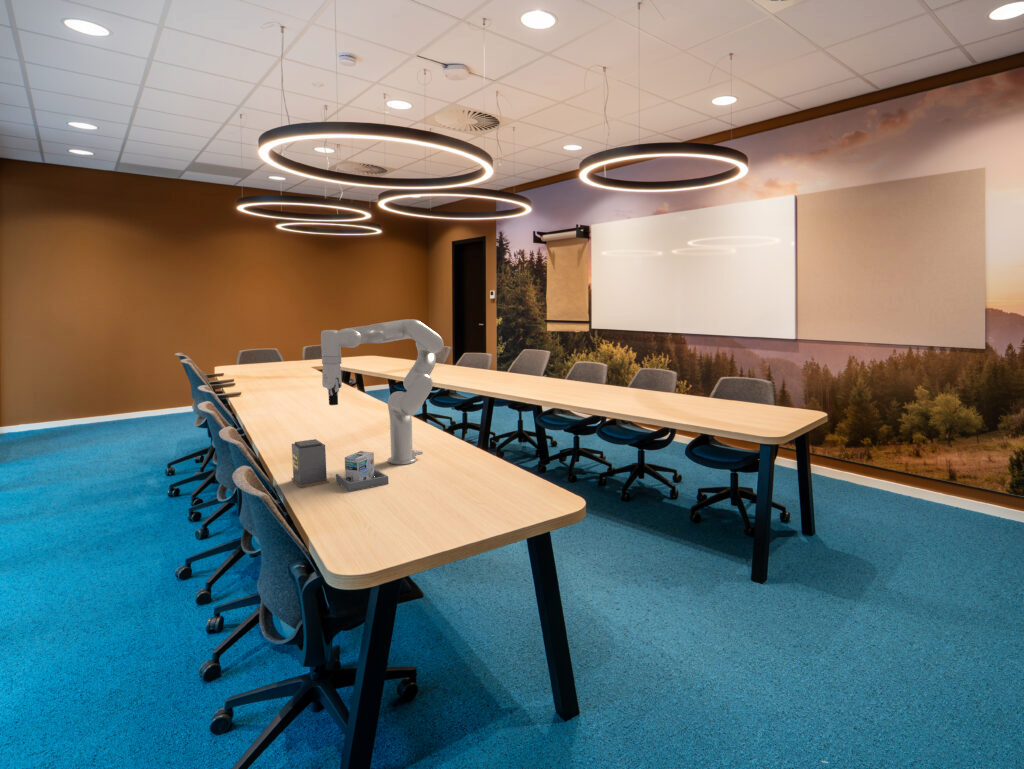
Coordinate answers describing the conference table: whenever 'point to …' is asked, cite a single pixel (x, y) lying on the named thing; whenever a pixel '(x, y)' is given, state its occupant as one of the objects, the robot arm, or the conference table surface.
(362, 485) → the bay
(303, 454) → the block
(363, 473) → the light bulb box
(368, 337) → the robot arm
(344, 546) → the conference table surface
